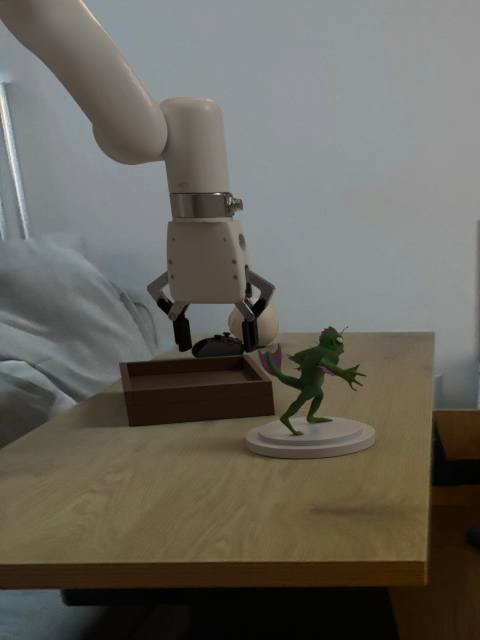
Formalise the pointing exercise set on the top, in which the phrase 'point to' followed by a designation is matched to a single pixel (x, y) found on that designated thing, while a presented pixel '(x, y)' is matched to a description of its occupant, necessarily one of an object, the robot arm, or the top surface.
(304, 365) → the monster figurine
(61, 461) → the top surface
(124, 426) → the top surface
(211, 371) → the tray
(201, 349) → the gaming controller
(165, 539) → the top surface
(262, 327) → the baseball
